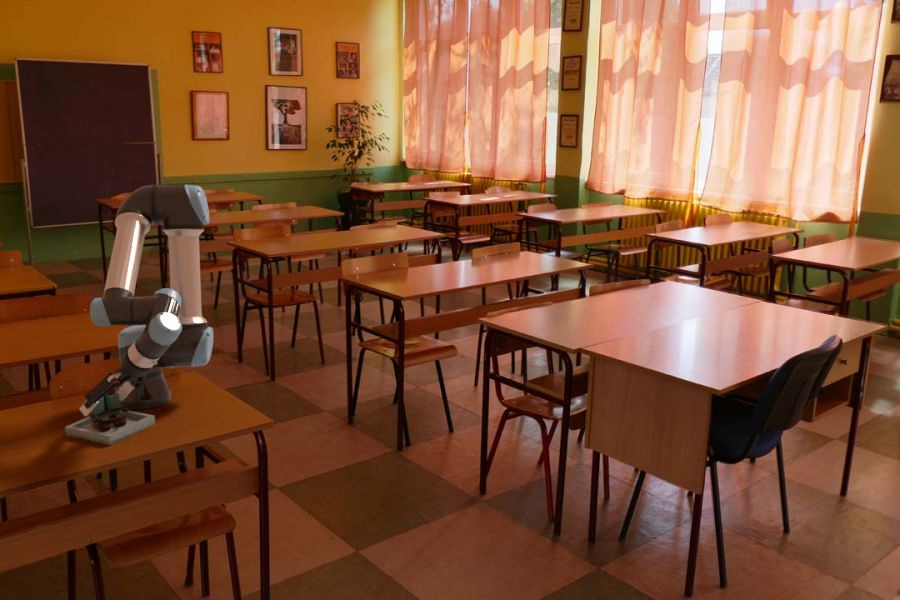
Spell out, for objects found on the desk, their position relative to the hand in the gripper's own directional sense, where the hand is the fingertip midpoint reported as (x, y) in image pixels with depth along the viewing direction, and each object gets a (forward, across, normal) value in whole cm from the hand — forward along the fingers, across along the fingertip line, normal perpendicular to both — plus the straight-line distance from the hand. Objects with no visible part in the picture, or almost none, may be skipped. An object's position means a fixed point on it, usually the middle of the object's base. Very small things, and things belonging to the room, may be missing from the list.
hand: (101, 404), depth 215 cm
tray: (+3, 0, -7) cm, 7 cm away
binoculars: (+2, 0, -6) cm, 7 cm away
